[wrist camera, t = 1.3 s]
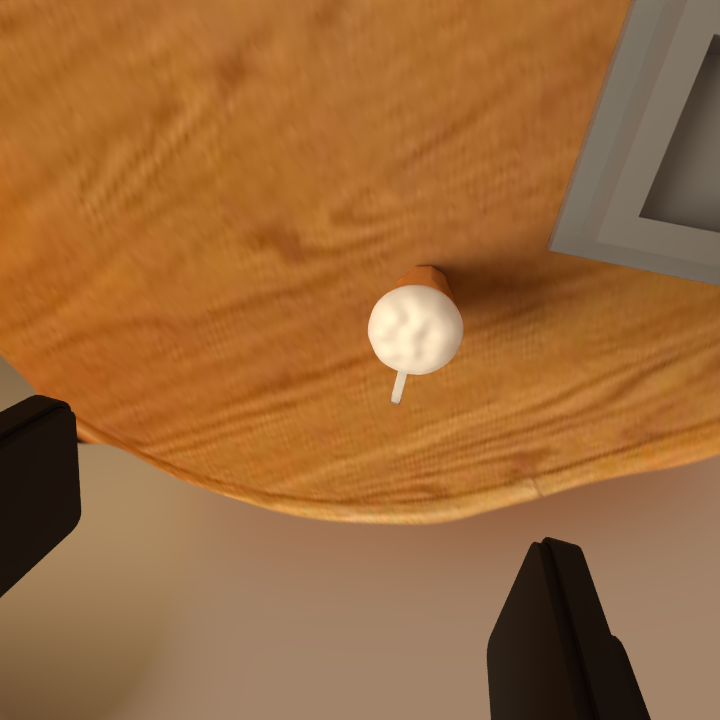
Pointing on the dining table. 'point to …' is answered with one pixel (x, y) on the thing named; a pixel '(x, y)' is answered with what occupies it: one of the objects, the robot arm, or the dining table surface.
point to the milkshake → (416, 326)
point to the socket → (652, 149)
